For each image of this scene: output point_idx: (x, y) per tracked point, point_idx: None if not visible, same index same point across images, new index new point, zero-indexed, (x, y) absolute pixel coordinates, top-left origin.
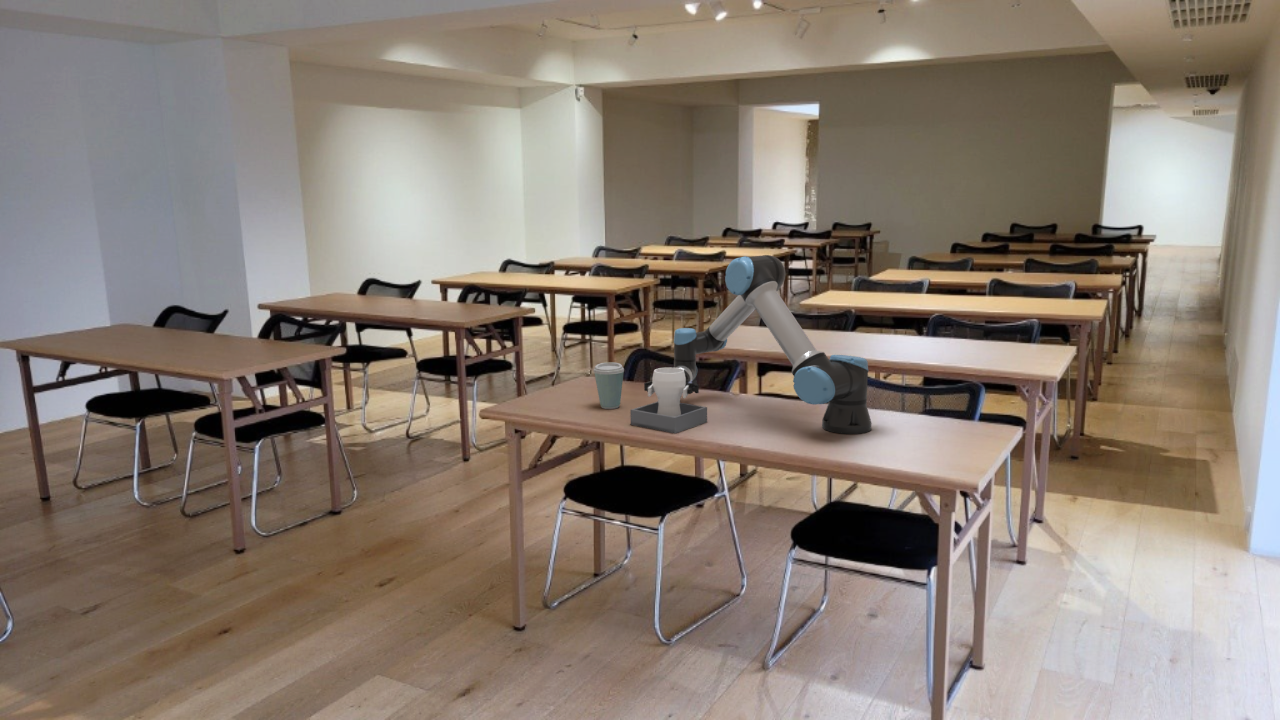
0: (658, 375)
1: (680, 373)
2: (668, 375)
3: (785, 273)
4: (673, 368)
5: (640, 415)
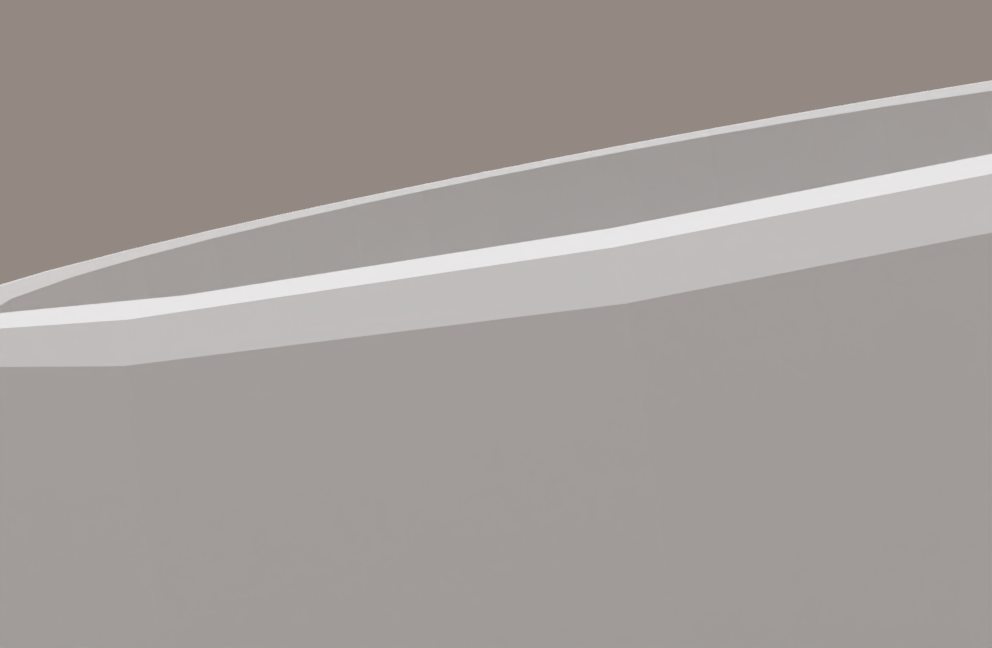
0: (639, 196)
1: (190, 265)
2: (442, 220)
3: None
4: (883, 255)
5: None
